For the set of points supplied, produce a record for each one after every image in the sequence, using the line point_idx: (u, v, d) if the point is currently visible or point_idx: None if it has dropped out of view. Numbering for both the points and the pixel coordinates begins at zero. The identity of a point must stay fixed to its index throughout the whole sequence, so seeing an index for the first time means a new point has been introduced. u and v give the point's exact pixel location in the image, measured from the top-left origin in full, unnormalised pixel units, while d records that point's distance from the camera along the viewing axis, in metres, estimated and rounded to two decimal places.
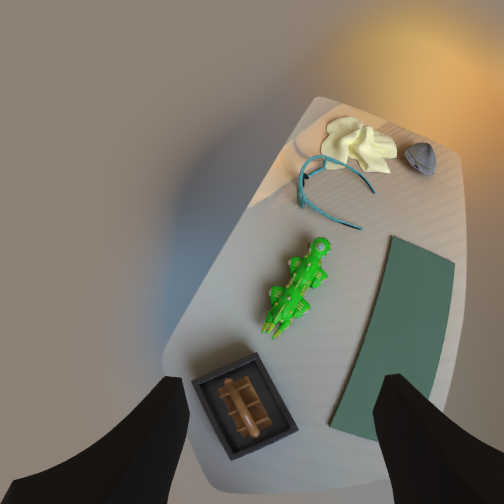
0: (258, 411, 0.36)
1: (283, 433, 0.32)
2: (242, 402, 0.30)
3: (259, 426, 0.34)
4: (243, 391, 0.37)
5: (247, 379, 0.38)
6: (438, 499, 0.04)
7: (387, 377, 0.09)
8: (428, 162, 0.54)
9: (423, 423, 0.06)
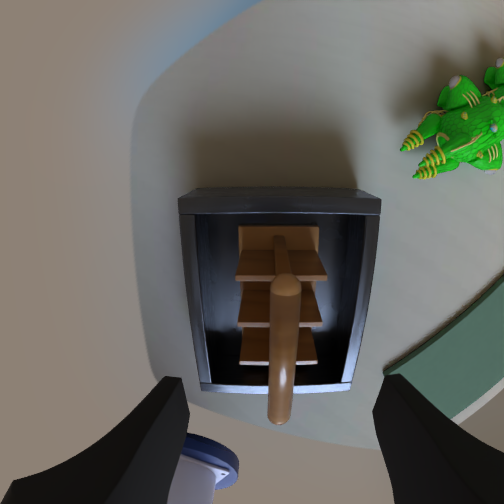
0: None
1: (322, 386, 0.17)
2: (293, 357, 0.11)
3: None
4: None
5: (315, 235, 0.16)
6: (438, 499, 0.04)
7: (387, 377, 0.09)
8: None
9: (423, 423, 0.06)
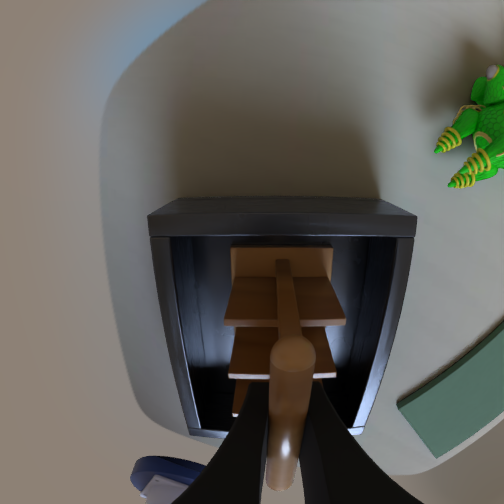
0: None
1: None
2: (300, 433, 0.07)
3: None
4: None
5: (328, 259, 0.13)
6: None
7: None
8: None
9: (318, 440, 0.06)
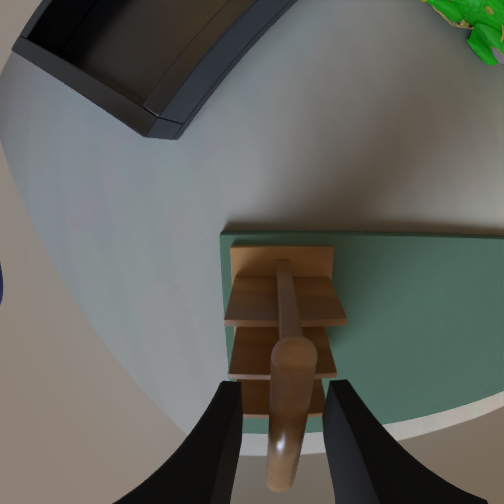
0: None
1: (114, 96, 0.08)
2: (301, 434, 0.07)
3: None
4: None
5: (328, 259, 0.13)
6: None
7: (331, 383, 0.09)
8: None
9: (356, 436, 0.06)
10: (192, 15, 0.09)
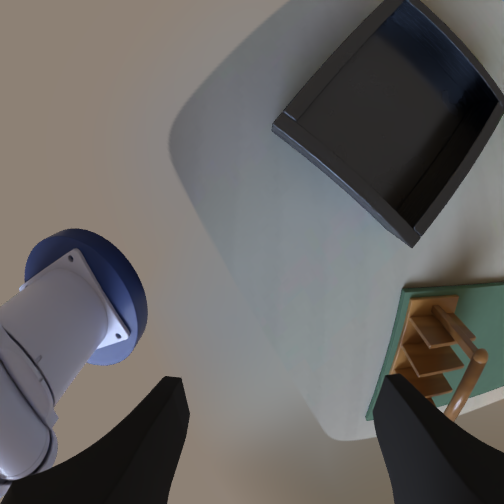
0: None
1: (397, 217, 0.14)
2: (469, 394, 0.13)
3: None
4: None
5: (455, 303, 0.18)
6: (438, 499, 0.04)
7: (387, 377, 0.09)
8: None
9: (423, 423, 0.06)
10: (409, 138, 0.15)
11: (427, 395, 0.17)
